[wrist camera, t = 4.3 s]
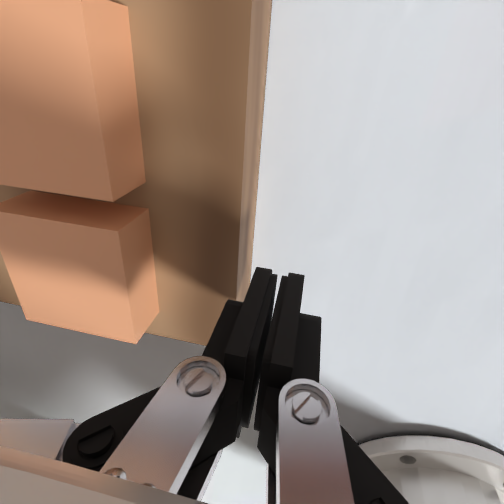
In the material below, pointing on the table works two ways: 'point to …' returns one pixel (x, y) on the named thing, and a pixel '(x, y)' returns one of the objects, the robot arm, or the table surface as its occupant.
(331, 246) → the table surface
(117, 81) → the tile near
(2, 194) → the board
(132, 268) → the tile far
